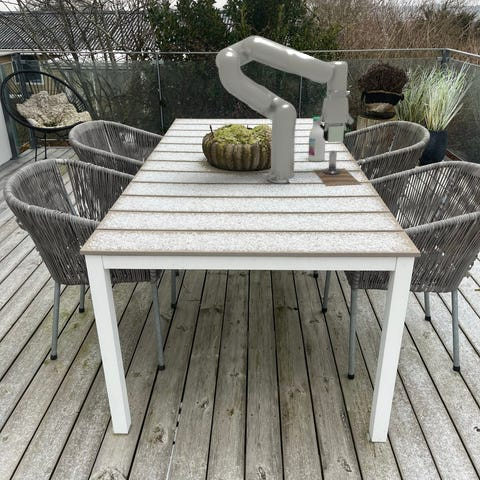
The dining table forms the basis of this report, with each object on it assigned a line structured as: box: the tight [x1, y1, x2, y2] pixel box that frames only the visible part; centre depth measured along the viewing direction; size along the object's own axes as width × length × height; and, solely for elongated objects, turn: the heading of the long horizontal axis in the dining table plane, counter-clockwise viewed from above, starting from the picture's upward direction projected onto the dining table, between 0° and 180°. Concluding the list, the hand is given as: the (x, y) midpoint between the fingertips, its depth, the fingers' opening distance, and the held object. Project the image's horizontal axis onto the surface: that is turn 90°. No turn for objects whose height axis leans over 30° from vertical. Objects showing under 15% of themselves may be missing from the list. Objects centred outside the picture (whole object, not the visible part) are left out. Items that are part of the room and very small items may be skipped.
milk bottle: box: [308, 116, 326, 162], centre depth 221 cm, size 8×8×20 cm
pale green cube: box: [327, 124, 344, 143], centre depth 192 cm, size 6×6×6 cm
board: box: [312, 150, 362, 187], centre depth 191 cm, size 24×14×10 cm, turn 4°
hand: (333, 139), depth 193 cm, fingers closed on pale green cube, 5 cm apart
